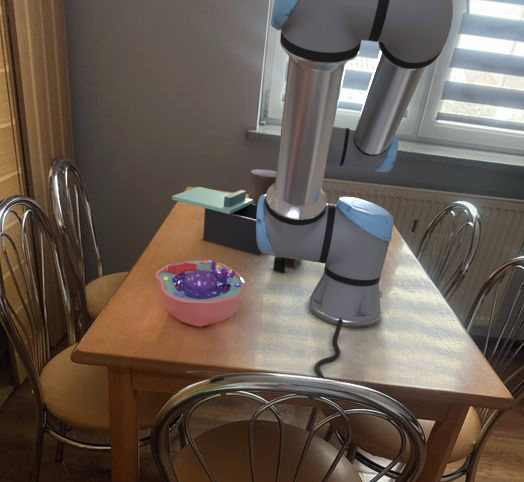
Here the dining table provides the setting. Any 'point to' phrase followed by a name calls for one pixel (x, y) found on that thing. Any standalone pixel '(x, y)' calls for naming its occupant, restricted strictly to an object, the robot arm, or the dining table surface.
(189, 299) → the cell model
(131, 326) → the dining table surface
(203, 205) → the lid
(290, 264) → the block
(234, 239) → the bin
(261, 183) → the pillar candle
